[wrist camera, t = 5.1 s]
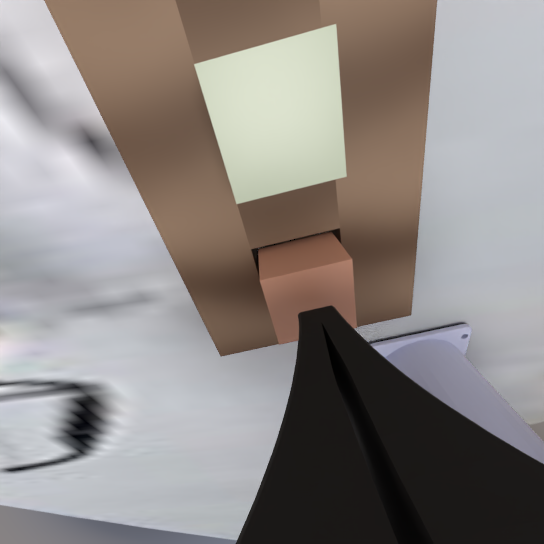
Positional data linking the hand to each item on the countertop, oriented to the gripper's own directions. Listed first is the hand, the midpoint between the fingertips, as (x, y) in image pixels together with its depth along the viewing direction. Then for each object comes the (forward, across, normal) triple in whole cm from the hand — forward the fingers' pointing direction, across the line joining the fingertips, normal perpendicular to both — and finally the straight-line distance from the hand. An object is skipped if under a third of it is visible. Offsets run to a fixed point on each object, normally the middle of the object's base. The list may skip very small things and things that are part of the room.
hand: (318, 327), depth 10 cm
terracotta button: (+4, 0, 0) cm, 4 cm away
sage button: (+4, 0, -7) cm, 8 cm away
